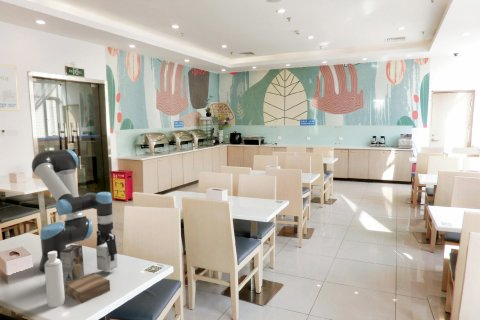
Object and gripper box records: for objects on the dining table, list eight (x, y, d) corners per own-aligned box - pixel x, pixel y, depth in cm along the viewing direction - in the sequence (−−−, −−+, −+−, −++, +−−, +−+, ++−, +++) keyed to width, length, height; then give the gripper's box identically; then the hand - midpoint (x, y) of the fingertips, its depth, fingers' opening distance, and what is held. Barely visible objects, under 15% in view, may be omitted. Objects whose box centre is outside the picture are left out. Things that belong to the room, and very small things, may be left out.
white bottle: (44, 306, 149) (39, 250, 146) (56, 298, 155) (52, 245, 152) (56, 308, 146) (51, 252, 143) (68, 300, 153) (64, 246, 150)
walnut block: (65, 293, 159) (65, 283, 158) (94, 282, 170) (93, 272, 169) (81, 303, 150) (80, 292, 150) (110, 290, 161) (109, 280, 161)
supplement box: (96, 269, 179) (95, 246, 177) (108, 264, 185) (107, 241, 183) (106, 272, 175) (105, 249, 174) (118, 267, 182) (117, 244, 180)
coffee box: (73, 273, 180) (71, 244, 178) (84, 274, 179) (82, 244, 177) (61, 281, 171) (59, 250, 169) (73, 282, 170) (70, 251, 168)
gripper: (87, 220, 180) (90, 261, 183) (109, 228, 168) (111, 272, 171) (100, 216, 186) (103, 256, 189) (123, 224, 174) (125, 267, 177)
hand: (107, 264), depth 180 cm, fingers closed on supplement box, 8 cm apart
